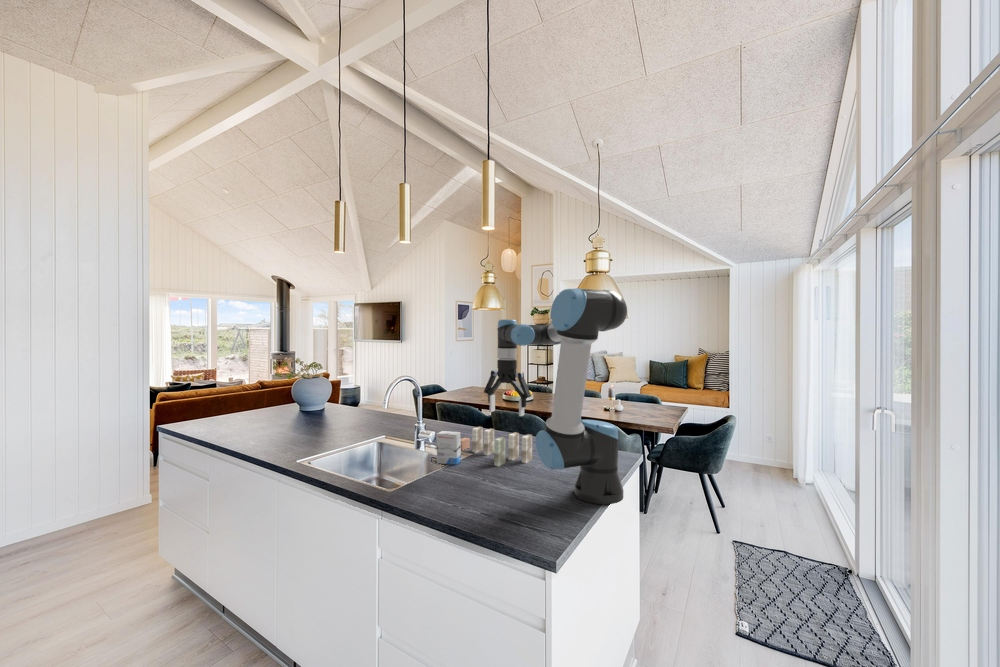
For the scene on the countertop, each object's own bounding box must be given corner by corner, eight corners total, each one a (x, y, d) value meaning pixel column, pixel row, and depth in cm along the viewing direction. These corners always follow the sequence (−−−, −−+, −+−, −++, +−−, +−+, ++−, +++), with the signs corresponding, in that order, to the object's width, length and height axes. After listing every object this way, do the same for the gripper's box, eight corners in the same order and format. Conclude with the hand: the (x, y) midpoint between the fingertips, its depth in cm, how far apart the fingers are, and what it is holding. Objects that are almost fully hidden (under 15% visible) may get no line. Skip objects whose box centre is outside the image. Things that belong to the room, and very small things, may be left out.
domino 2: (487, 455, 171) (487, 431, 171) (483, 454, 172) (483, 430, 172) (494, 452, 175) (494, 429, 175) (490, 451, 176) (490, 428, 176)
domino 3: (498, 466, 157) (498, 440, 157) (494, 465, 158) (494, 439, 158) (505, 462, 162) (505, 437, 162) (501, 462, 163) (501, 436, 163)
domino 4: (512, 460, 165) (512, 435, 164) (508, 459, 166) (508, 434, 165) (518, 457, 169) (519, 432, 169) (514, 456, 170) (514, 432, 170)
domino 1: (475, 453, 174) (475, 429, 174) (472, 452, 175) (472, 428, 175) (482, 450, 178) (482, 427, 178) (478, 449, 179) (478, 426, 179)
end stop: (462, 450, 178) (462, 441, 178) (456, 449, 179) (456, 440, 179) (469, 447, 182) (469, 438, 182) (464, 446, 184) (464, 437, 184)
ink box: (461, 461, 163) (461, 431, 163) (456, 465, 158) (456, 435, 158) (441, 459, 166) (441, 430, 166) (435, 463, 161) (435, 433, 161)
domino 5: (526, 463, 161) (526, 437, 161) (521, 462, 162) (521, 437, 162) (532, 459, 166) (532, 435, 165) (527, 459, 167) (527, 434, 166)
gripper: (540, 360, 157) (539, 415, 157) (486, 356, 171) (486, 408, 171) (530, 361, 151) (529, 419, 151) (475, 358, 165) (475, 411, 165)
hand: (506, 413), depth 161 cm, fingers open, 13 cm apart
